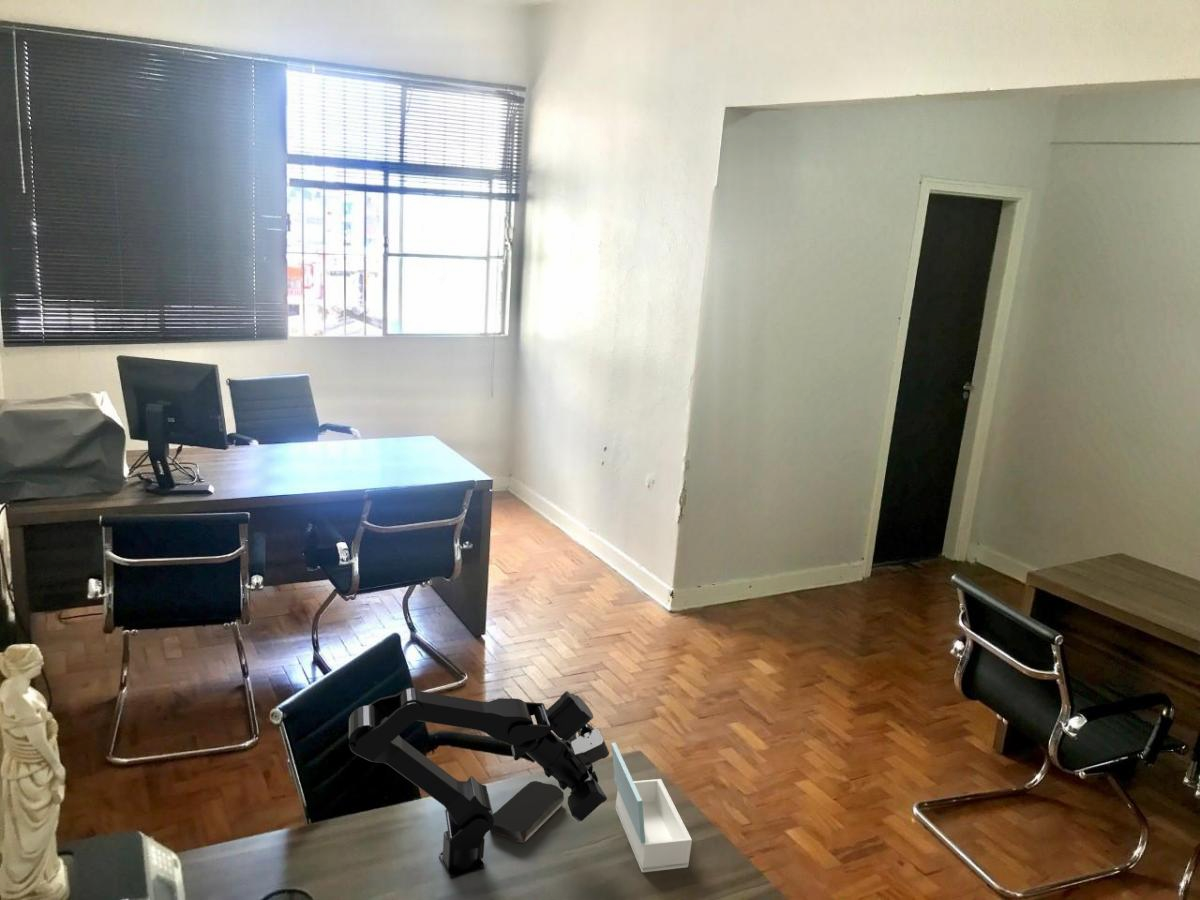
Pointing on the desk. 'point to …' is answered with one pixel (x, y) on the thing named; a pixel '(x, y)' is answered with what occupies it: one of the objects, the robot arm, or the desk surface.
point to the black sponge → (527, 811)
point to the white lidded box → (657, 829)
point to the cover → (628, 792)
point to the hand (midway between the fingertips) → (604, 799)
